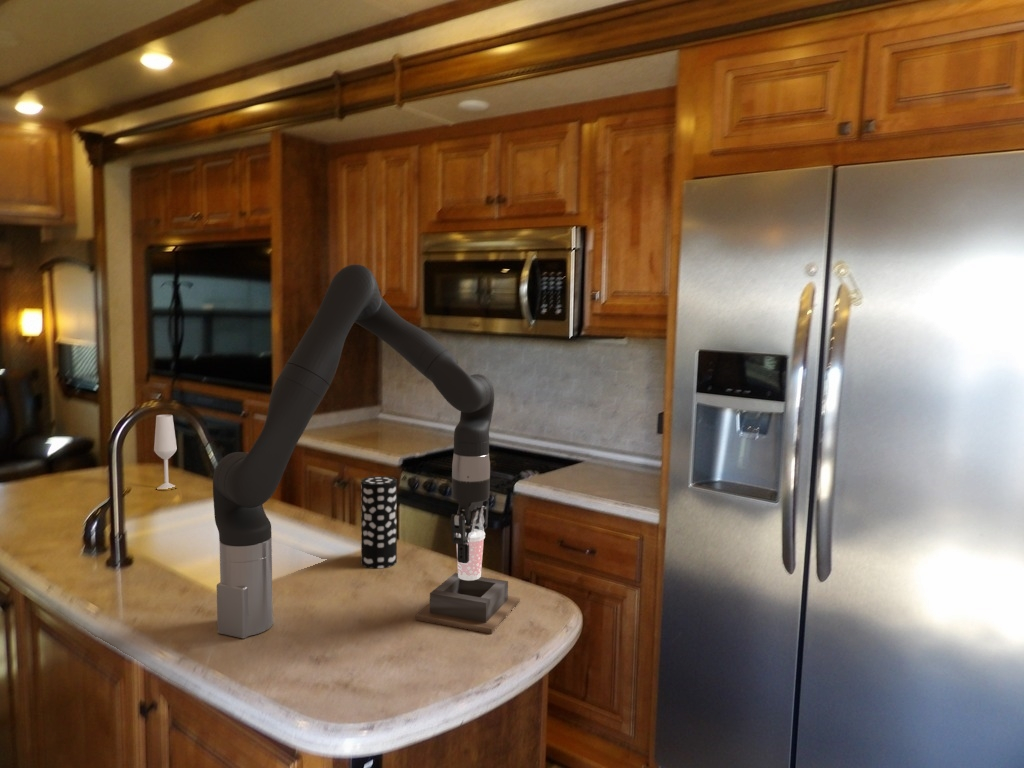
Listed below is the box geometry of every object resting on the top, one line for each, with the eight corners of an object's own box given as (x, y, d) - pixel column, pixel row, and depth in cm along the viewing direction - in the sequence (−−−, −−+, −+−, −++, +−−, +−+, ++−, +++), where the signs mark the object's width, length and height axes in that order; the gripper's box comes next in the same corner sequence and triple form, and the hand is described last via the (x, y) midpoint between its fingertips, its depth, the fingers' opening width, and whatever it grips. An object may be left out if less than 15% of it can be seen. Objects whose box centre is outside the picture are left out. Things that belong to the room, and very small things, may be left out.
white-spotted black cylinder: (362, 569, 169) (362, 485, 167) (360, 557, 177) (360, 477, 175) (398, 567, 171) (398, 483, 169) (394, 555, 179) (394, 475, 177)
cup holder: (491, 634, 137) (492, 608, 137) (415, 619, 143) (416, 595, 142) (520, 602, 152) (520, 579, 152) (450, 590, 158) (450, 568, 157)
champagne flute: (155, 491, 233) (153, 417, 230) (154, 487, 239) (152, 414, 236) (178, 489, 236) (176, 416, 234) (177, 485, 242) (175, 413, 239)
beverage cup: (450, 572, 149) (451, 505, 147) (479, 569, 151) (480, 503, 149) (459, 583, 143) (460, 514, 142) (488, 579, 145) (489, 511, 144)
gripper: (474, 485, 137) (473, 571, 139) (501, 469, 150) (500, 548, 152) (438, 481, 139) (437, 566, 141) (468, 466, 153) (467, 543, 155)
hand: (469, 556), depth 147 cm, fingers closed on beverage cup, 6 cm apart
